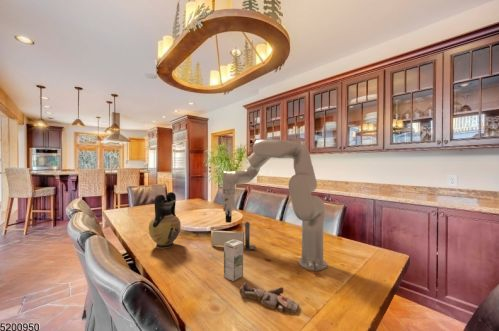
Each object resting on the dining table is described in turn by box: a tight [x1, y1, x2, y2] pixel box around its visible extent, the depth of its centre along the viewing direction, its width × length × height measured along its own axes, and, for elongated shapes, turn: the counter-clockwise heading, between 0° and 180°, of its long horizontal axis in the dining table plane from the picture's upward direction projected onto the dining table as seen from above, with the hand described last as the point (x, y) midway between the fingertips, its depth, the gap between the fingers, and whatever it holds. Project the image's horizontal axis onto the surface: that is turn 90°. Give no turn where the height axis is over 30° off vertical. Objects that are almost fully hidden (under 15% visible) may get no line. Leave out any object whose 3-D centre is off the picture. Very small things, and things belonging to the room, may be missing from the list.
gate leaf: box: [210, 230, 245, 249], centre depth 126 cm, size 2×19×8 cm, turn 80°
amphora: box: [148, 191, 182, 250], centre depth 128 cm, size 18×17×30 cm
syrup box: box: [223, 239, 244, 282], centre depth 93 cm, size 6×6×14 cm
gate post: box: [244, 221, 256, 251], centre depth 123 cm, size 5×5×15 cm
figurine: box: [238, 281, 300, 315], centre depth 77 cm, size 7×5×20 cm
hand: (228, 222), depth 135 cm, fingers closed
